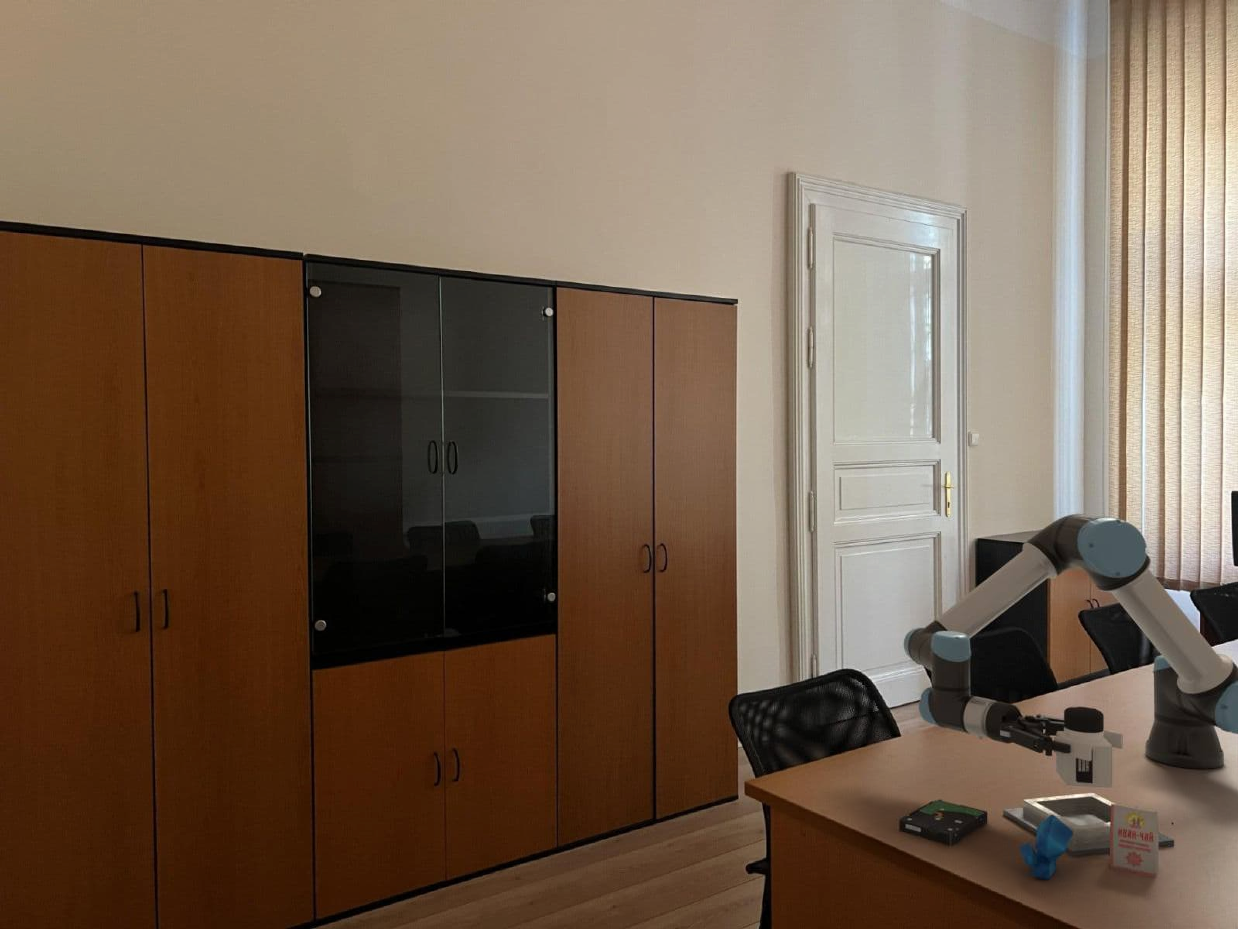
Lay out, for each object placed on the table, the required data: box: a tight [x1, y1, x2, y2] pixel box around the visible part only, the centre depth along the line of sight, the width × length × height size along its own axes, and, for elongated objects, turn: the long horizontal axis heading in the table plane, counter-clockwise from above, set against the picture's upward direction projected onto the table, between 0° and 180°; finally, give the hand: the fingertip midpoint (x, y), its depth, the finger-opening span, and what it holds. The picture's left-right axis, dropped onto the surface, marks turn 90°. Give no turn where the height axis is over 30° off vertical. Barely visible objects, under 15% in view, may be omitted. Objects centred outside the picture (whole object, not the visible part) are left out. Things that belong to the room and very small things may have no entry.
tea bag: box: [1109, 803, 1160, 878], centre depth 162 cm, size 4×7×10 cm, turn 56°
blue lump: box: [1019, 815, 1073, 881], centre depth 161 cm, size 7×9×12 cm
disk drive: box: [898, 798, 988, 847], centre depth 181 cm, size 10×3×15 cm
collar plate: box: [1002, 792, 1175, 858], centre depth 179 cm, size 20×20×4 cm
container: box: [1055, 705, 1113, 788], centre depth 179 cm, size 8×8×13 cm
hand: (1106, 747), depth 175 cm, fingers closed on container, 10 cm apart
